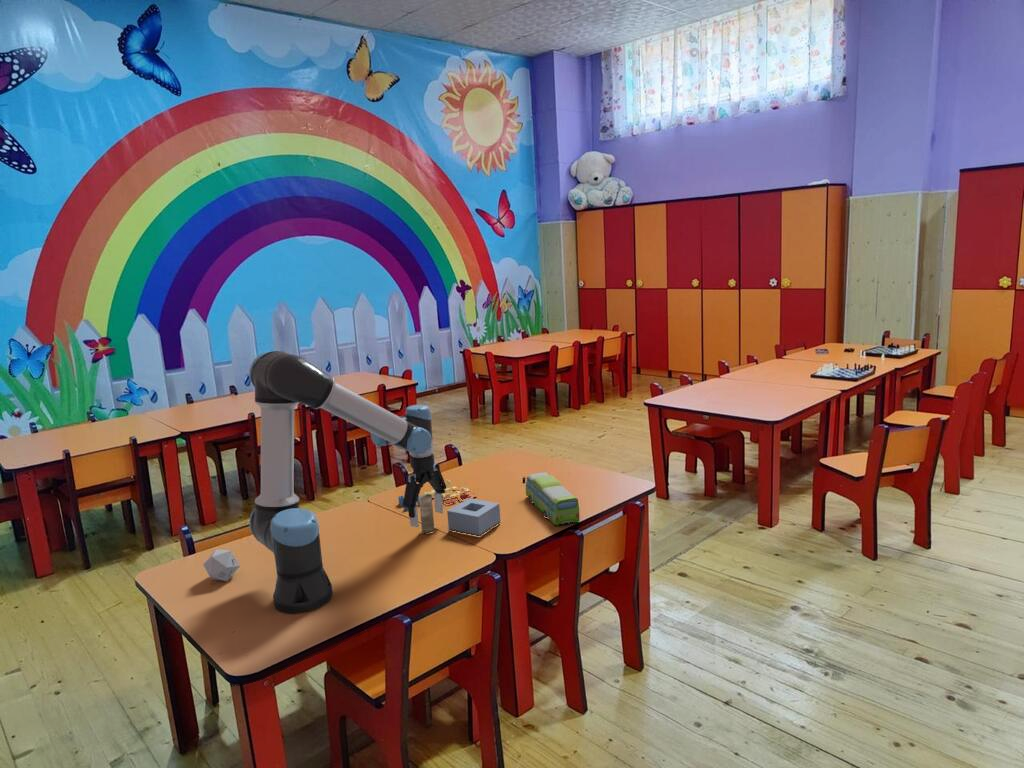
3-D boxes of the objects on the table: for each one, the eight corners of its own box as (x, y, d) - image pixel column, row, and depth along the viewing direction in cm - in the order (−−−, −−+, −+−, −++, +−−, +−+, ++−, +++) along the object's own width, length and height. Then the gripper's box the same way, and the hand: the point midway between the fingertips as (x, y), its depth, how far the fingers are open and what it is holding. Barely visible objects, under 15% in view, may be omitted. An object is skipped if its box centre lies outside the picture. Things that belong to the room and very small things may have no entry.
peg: (429, 535, 221) (426, 499, 219) (419, 532, 223) (416, 497, 221) (437, 530, 224) (434, 495, 222) (427, 528, 226) (424, 493, 224)
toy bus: (550, 493, 252) (549, 466, 250) (583, 524, 223) (582, 494, 221) (523, 497, 249) (521, 470, 247) (553, 529, 220) (552, 499, 218)
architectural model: (501, 477, 272) (500, 464, 271) (520, 487, 261) (520, 473, 260) (394, 506, 249) (392, 491, 248) (410, 517, 237) (409, 503, 236)
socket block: (479, 538, 217) (478, 516, 215) (448, 531, 223) (447, 510, 222) (500, 523, 227) (499, 503, 225) (470, 517, 233) (469, 498, 231)
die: (211, 591, 193) (230, 561, 193) (191, 571, 197) (210, 541, 196) (232, 587, 201) (251, 559, 201) (213, 568, 204) (231, 540, 204)
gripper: (405, 467, 206) (412, 535, 211) (454, 445, 226) (458, 507, 231) (386, 464, 210) (393, 531, 215) (435, 442, 230) (440, 504, 235)
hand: (427, 519), depth 223 cm, fingers open, 12 cm apart
